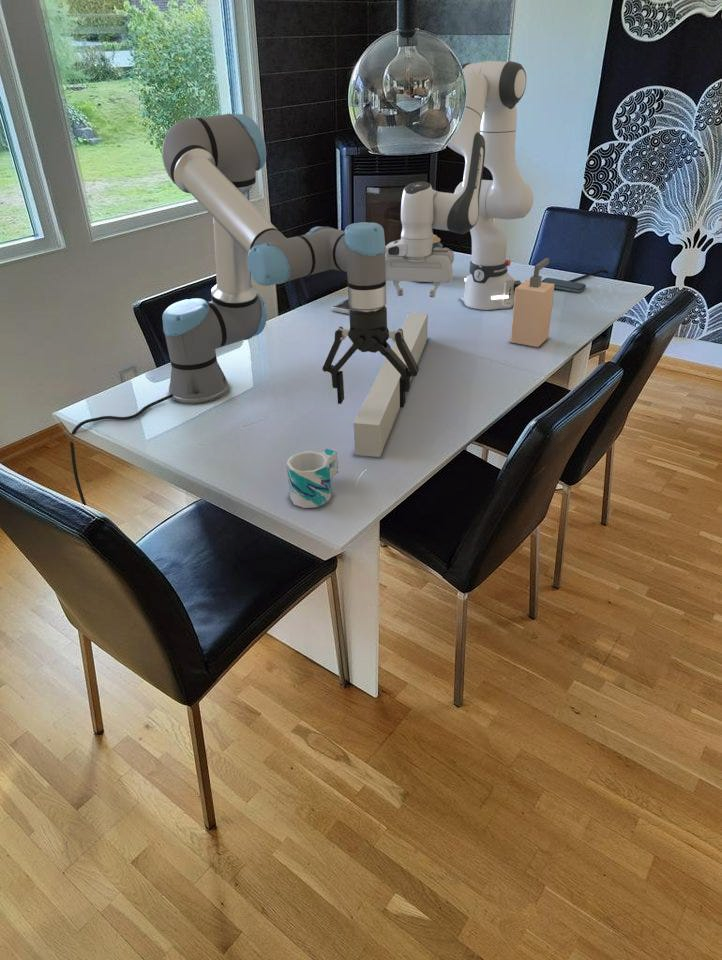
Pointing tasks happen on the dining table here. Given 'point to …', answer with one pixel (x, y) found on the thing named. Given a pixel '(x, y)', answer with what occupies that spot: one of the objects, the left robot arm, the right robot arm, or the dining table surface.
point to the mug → (311, 477)
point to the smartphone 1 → (342, 307)
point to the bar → (387, 392)
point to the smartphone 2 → (565, 284)
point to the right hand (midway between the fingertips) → (416, 296)
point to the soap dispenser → (532, 309)
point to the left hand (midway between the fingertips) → (371, 403)
